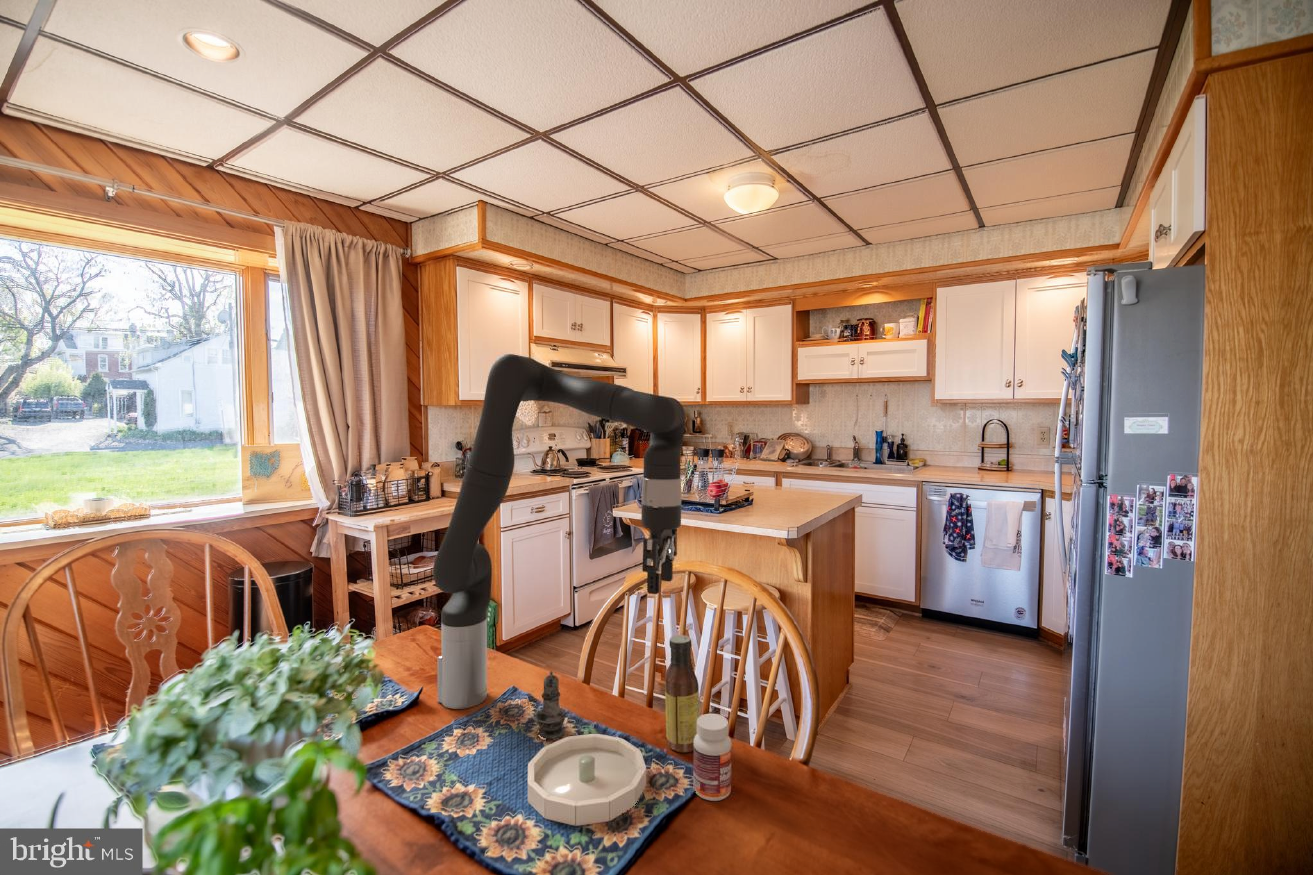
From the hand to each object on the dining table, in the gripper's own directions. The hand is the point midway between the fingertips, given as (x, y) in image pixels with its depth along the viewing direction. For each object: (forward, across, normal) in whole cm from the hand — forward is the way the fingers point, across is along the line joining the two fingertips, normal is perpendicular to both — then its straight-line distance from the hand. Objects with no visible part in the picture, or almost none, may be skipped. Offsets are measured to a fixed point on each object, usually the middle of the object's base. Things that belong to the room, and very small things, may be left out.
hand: (660, 586), depth 108 cm
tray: (+29, +18, -7) cm, 34 cm away
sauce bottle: (+29, +2, +5) cm, 29 cm away
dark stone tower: (+29, +6, -20) cm, 35 cm away
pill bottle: (+29, +13, +13) cm, 34 cm away
